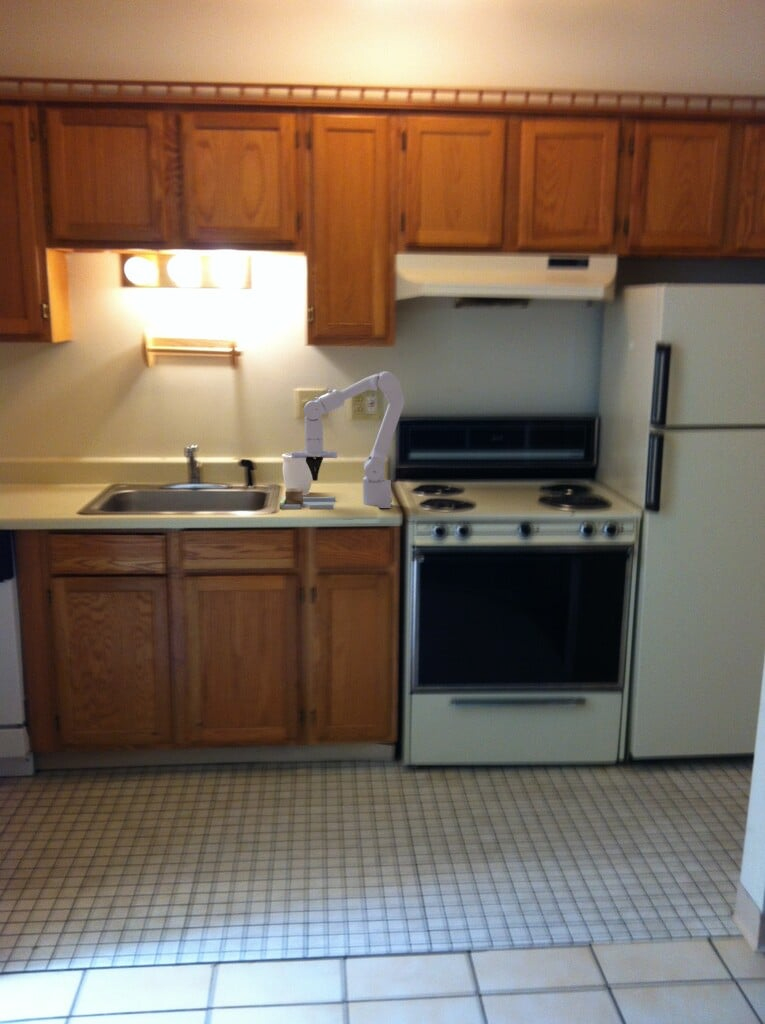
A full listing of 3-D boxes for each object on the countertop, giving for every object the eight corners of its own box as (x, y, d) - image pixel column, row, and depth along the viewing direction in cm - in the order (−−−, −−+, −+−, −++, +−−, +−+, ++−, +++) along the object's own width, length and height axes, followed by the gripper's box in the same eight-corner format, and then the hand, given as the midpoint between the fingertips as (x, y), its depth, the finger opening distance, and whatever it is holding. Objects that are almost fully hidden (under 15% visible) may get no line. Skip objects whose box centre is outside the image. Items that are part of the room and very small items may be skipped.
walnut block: (303, 503, 280) (302, 488, 279) (301, 506, 275) (300, 491, 274) (288, 503, 280) (287, 488, 279) (286, 506, 275) (285, 491, 274)
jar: (280, 494, 299) (278, 452, 296) (308, 492, 303) (307, 450, 300) (287, 500, 290) (286, 457, 286) (316, 498, 293) (315, 455, 290)
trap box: (335, 504, 283) (335, 494, 283) (332, 512, 272) (332, 502, 271) (284, 504, 284) (284, 495, 283) (279, 512, 272) (279, 502, 271)
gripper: (289, 440, 269) (291, 482, 272) (335, 440, 268) (336, 482, 271) (292, 437, 276) (294, 478, 279) (337, 437, 275) (338, 478, 278)
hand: (315, 480), depth 276 cm, fingers closed
